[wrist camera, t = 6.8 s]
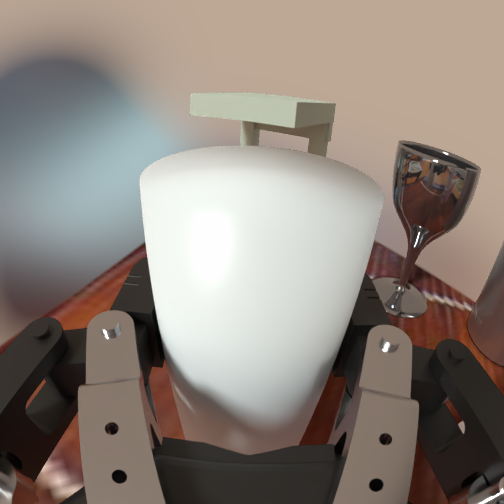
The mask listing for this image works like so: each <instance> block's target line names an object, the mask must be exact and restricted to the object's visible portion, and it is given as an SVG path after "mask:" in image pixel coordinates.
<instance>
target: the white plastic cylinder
mask: <svg viewBox="0 0 504 504" xmlns="http://www.w3.org/2000/svg"><path fill="white" fill-rule="evenodd" d="M140 192H141V204H142V215H143V224H144V232H145V242H146V250H147V257H148V265H149V272H150V278H151V285H152V291H153V297H154V303H155V309H156V315H157V320H158V325H159V331H160V336H161V341H162V346H163V351H164V355H165V360H166V365H167V369H168V373H169V378H170V382H171V386H172V390H173V394H174V399H175V402H176V406H177V410H178V414H179V418H180V421H181V425H182V429H183V432H184V436H185V439H186V440H188V441H197V442H205V443H208V444H211V445H214V446H217V447H221V448H224V449H227V450H231V451H234V452H238V453H241V454H245V455H253V454H259V453H263V452H268V451H273V450H277V449H282V448H286V447H290V446H298V445H299V443H300V441H301V439H302V437H303V435H304V433H305V431H306V428H307V426H308V424H309V422H310V420H311V417H312V415H313V413H314V411H315V408H316V406H317V404H318V401H319V399H320V397H321V394H322V392H323V390H324V387H325V385H326V382H327V380H328V377H329V375H330V372H331V370H332V367H333V365H334V362H335V359H336V357H337V354H338V352H339V349H340V346H341V343H342V341H343V338H344V335H345V332H346V330H347V327H348V324H349V321H350V318H351V315H352V312H353V309H354V306H355V303H356V300H357V297H358V294H359V290H360V287H361V284H362V281H363V277H364V274H365V271H366V267H367V264H368V260H369V257H370V253H371V250H372V246H373V242H374V239H375V235H376V231H377V227H378V223H379V219H380V215H381V211H382V207H383V202H384V193H383V191H382V189H381V187H380V186H379V185H378V184H377V183H376V182H375V181H374V180H373V179H372V178H370V177H369V176H367V175H366V174H364V173H363V172H361V171H359V170H357V169H355V168H353V167H350V166H349V165H346V164H344V163H341V162H339V161H336V160H332V159H329V158H326V157H323V156H319V155H315V154H311V153H306V152H302V151H296V150H290V149H283V148H275V147H265V146H217V147H207V148H199V149H194V150H188V151H184V152H180V153H176V154H173V155H170V156H167V157H164V158H162V159H160V160H158V161H156V162H154V163H152V164H151V165H150V166H148V167H147V168H146V169H145V170H144V171H143V172H142V174H141V176H140Z"/></svg>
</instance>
